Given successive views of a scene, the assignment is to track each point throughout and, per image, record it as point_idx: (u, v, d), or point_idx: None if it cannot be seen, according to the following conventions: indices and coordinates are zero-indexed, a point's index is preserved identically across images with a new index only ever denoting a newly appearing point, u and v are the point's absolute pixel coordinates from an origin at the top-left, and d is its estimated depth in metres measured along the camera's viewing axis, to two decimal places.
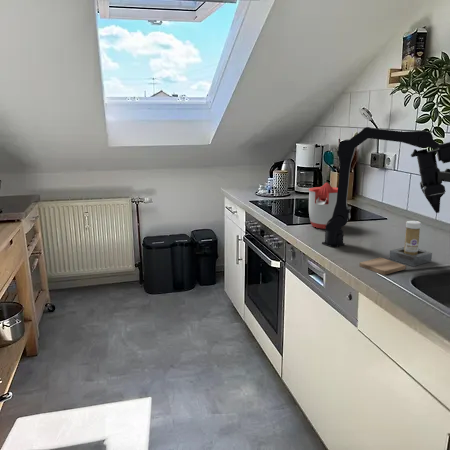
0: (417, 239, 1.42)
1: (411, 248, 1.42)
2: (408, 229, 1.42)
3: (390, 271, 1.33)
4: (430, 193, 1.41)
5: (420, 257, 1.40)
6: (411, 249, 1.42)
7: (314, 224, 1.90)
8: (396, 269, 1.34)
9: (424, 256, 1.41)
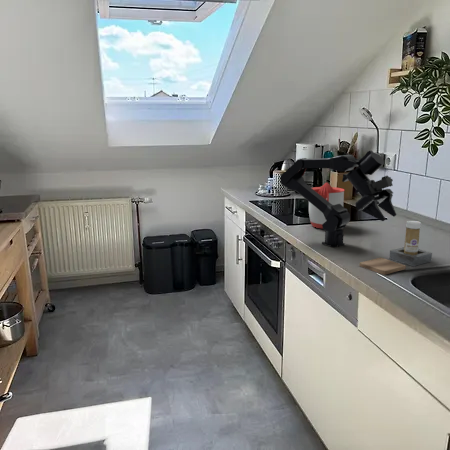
0: (417, 239, 1.42)
1: (411, 248, 1.42)
2: (408, 229, 1.42)
3: (390, 271, 1.33)
4: (360, 206, 1.44)
5: (420, 257, 1.40)
6: (411, 249, 1.42)
7: (314, 224, 1.90)
8: (396, 269, 1.34)
9: (424, 256, 1.41)
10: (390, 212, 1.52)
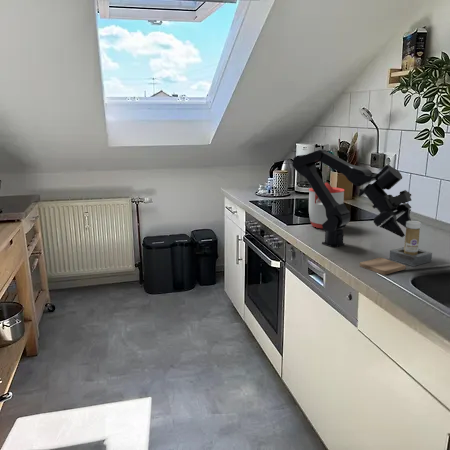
0: (417, 239, 1.42)
1: (411, 248, 1.42)
2: (408, 229, 1.42)
3: (390, 271, 1.33)
4: (378, 222, 1.41)
5: (420, 257, 1.40)
6: (411, 249, 1.42)
7: (314, 224, 1.90)
8: (396, 269, 1.34)
9: (424, 256, 1.41)
10: None
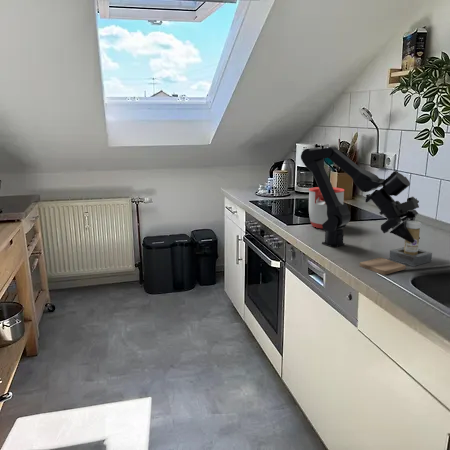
0: (417, 239, 1.42)
1: (411, 248, 1.42)
2: (408, 229, 1.42)
3: (390, 271, 1.33)
4: (386, 229, 1.40)
5: (420, 257, 1.40)
6: (411, 249, 1.42)
7: (314, 224, 1.90)
8: (396, 269, 1.34)
9: (424, 256, 1.41)
10: None
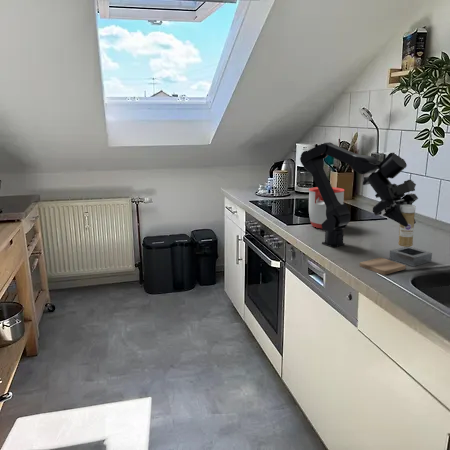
0: (411, 223, 1.38)
1: (405, 233, 1.39)
2: (402, 213, 1.38)
3: (390, 271, 1.33)
4: (377, 211, 1.37)
5: (420, 257, 1.40)
6: (405, 234, 1.39)
7: (314, 224, 1.90)
8: (396, 269, 1.34)
9: (424, 256, 1.41)
10: None
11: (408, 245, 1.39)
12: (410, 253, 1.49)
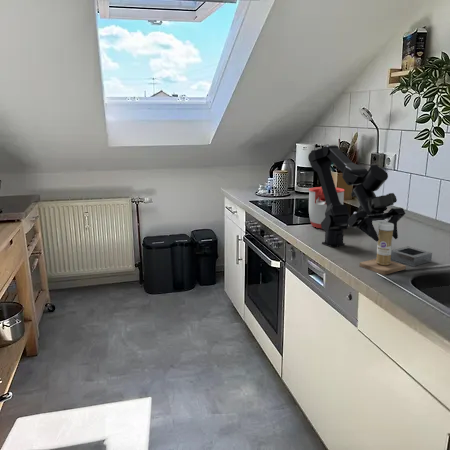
0: (387, 242, 1.35)
1: (380, 251, 1.36)
2: (379, 230, 1.36)
3: (390, 271, 1.33)
4: (350, 223, 1.37)
5: (420, 257, 1.40)
6: (380, 251, 1.36)
7: (314, 224, 1.90)
8: (396, 269, 1.34)
9: (424, 256, 1.41)
10: None
11: (383, 263, 1.36)
12: (410, 253, 1.49)
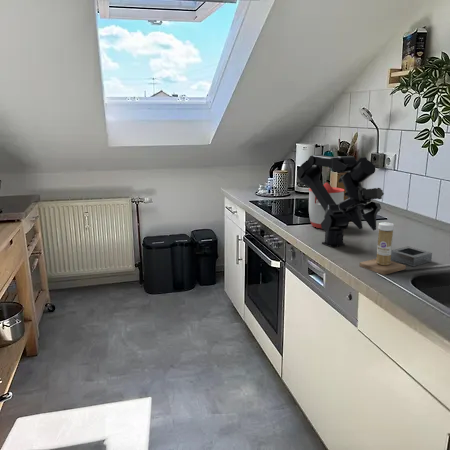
0: (387, 242, 1.35)
1: (380, 251, 1.36)
2: (379, 230, 1.36)
3: (390, 271, 1.33)
4: (342, 207, 1.42)
5: (420, 257, 1.40)
6: (380, 251, 1.36)
7: (314, 224, 1.90)
8: (396, 269, 1.34)
9: (424, 256, 1.41)
10: (371, 225, 1.49)
11: (383, 264, 1.36)
12: (410, 253, 1.49)
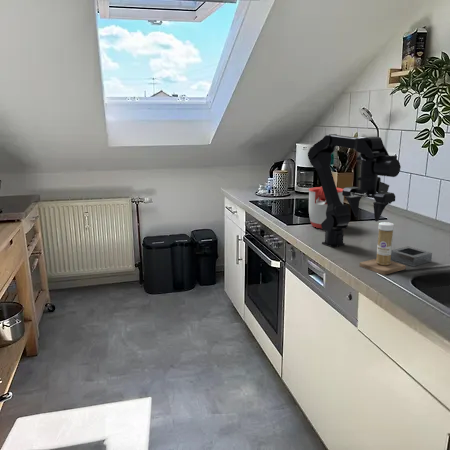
0: (387, 242, 1.35)
1: (380, 251, 1.36)
2: (379, 230, 1.36)
3: (390, 271, 1.33)
4: (387, 201, 1.39)
5: (420, 257, 1.40)
6: (380, 251, 1.36)
7: (314, 224, 1.90)
8: (396, 269, 1.34)
9: (424, 256, 1.41)
10: (355, 211, 1.52)
11: (383, 264, 1.36)
12: (410, 253, 1.49)
